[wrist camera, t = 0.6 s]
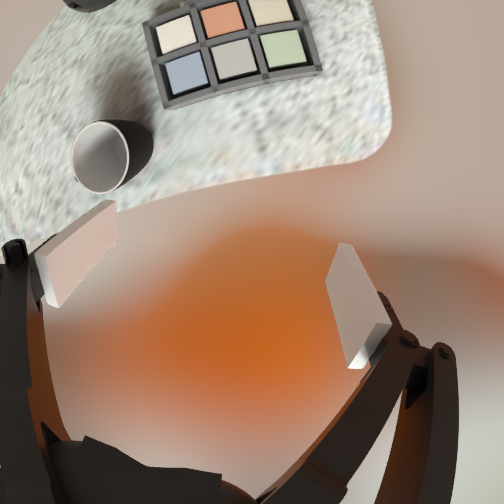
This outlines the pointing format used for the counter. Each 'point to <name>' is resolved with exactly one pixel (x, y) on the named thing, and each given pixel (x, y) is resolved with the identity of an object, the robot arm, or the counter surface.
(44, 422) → the robot arm
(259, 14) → the key
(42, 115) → the counter surface
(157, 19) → the gray compartment tray
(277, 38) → the key
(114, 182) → the mug
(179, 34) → the key
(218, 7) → the orange square block
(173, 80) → the key
